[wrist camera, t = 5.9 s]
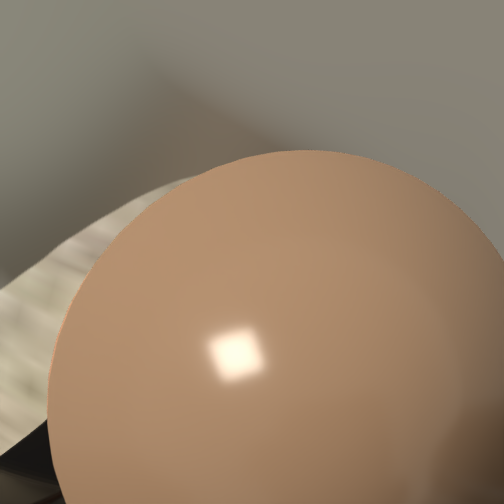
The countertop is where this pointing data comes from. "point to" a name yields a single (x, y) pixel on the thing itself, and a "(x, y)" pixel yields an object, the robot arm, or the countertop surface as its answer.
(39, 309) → the countertop surface
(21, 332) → the countertop surface
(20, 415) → the countertop surface
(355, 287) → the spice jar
